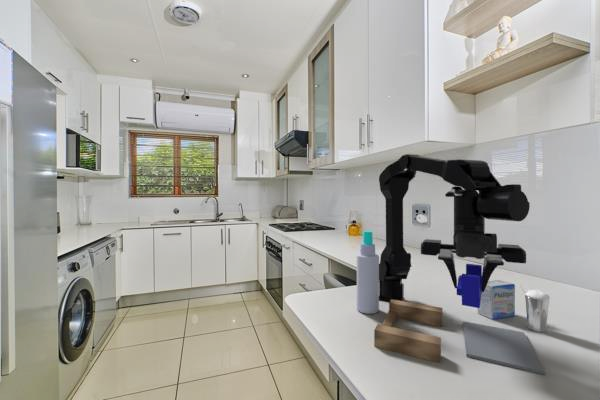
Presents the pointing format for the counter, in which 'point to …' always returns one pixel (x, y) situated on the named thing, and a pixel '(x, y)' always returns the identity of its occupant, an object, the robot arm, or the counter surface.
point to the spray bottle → (367, 276)
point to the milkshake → (537, 309)
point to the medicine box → (498, 300)
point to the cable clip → (470, 286)
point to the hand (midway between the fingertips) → (468, 289)
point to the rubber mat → (500, 347)
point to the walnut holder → (406, 339)
